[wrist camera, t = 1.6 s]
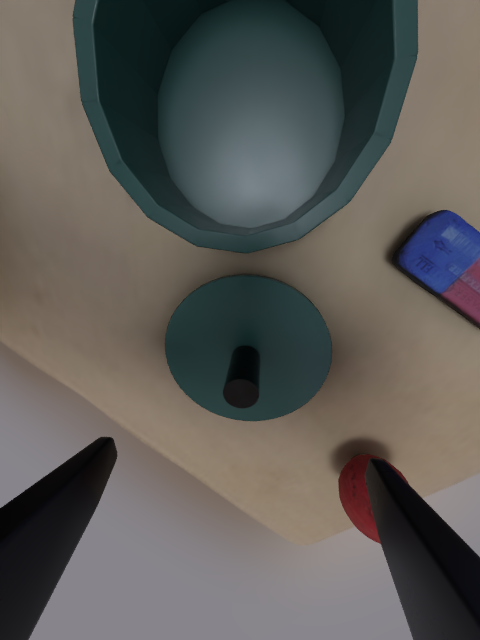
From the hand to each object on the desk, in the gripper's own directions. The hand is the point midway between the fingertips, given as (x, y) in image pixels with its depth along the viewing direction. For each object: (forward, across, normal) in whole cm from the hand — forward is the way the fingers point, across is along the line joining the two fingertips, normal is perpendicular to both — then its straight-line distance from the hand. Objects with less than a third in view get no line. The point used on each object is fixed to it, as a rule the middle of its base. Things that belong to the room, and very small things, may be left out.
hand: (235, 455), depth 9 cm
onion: (+13, -11, +15) cm, 22 cm away
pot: (+12, 0, -12) cm, 18 cm away
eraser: (+13, -14, -4) cm, 19 cm away
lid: (+12, 0, +3) cm, 12 cm away
